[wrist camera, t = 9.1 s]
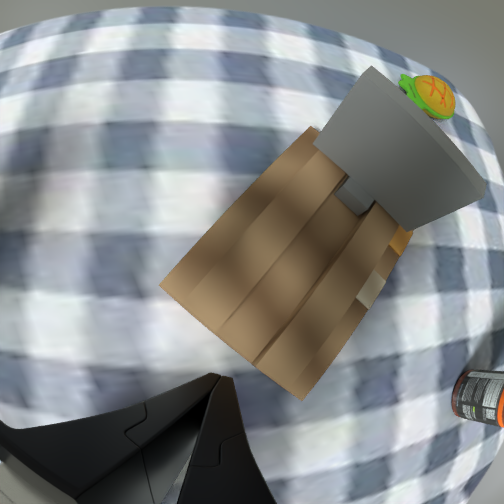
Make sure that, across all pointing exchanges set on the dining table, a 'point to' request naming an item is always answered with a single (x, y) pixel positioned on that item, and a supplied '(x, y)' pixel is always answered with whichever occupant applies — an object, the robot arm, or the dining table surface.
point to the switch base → (289, 268)
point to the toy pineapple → (430, 95)
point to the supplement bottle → (480, 397)
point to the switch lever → (396, 156)
